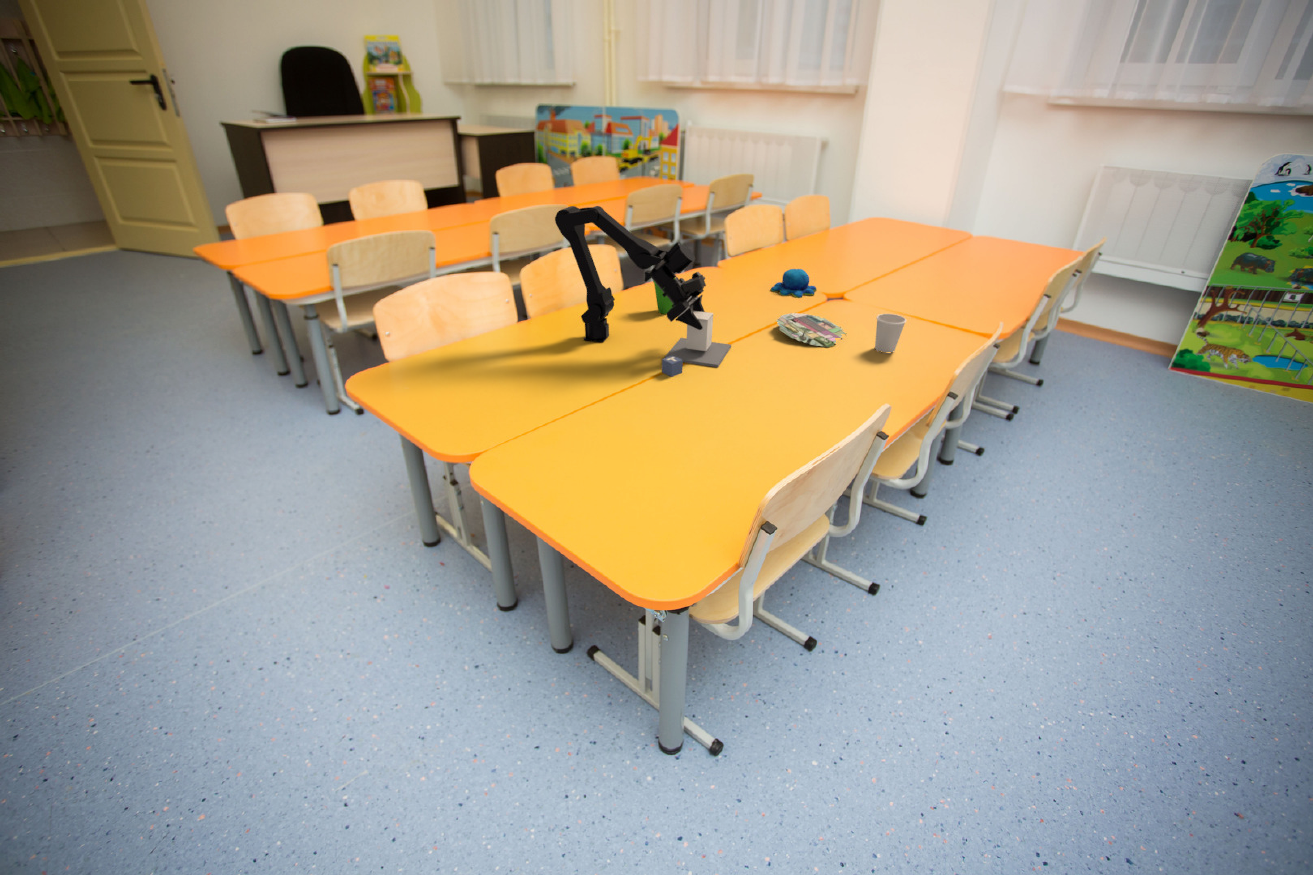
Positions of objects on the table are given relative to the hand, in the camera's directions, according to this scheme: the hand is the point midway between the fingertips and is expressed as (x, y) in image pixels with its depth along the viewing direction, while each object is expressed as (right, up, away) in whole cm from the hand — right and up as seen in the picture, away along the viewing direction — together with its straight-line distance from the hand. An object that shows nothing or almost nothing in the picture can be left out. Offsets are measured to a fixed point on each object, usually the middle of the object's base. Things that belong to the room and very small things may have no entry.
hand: (704, 325), depth 175 cm
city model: (+36, 0, +19) cm, 41 cm away
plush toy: (+39, +24, +59) cm, 75 cm away
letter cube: (-10, -14, -7) cm, 19 cm away
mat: (-1, -7, +5) cm, 9 cm away
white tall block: (-1, -5, +4) cm, 7 cm away
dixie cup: (+55, -6, +9) cm, 56 cm away
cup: (-11, +11, +36) cm, 39 cm away
